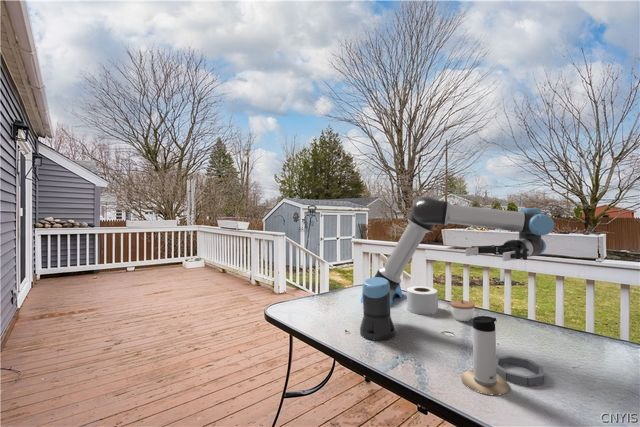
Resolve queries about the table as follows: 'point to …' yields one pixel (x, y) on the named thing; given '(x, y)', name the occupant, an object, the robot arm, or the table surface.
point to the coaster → (495, 390)
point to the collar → (518, 378)
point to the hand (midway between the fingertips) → (484, 254)
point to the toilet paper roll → (422, 300)
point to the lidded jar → (462, 310)
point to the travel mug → (484, 350)
